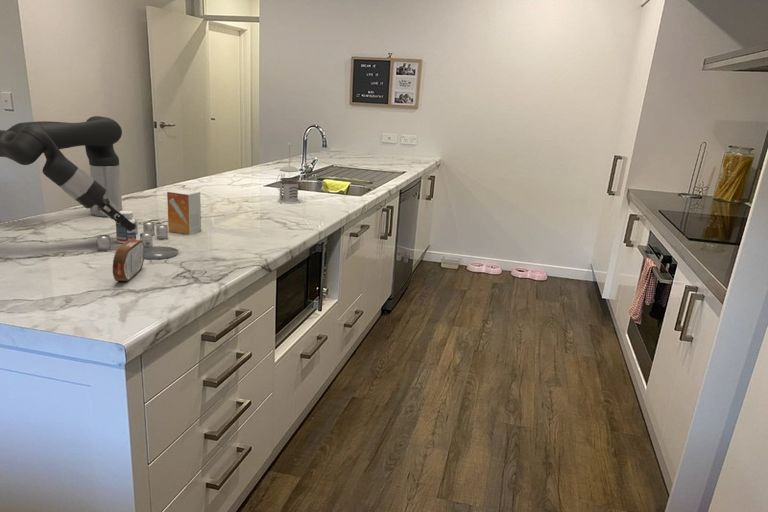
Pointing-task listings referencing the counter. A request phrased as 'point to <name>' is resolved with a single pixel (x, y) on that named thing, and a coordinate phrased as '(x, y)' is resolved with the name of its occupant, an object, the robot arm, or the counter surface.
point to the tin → (128, 260)
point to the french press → (288, 185)
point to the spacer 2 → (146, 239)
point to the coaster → (159, 252)
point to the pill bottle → (121, 231)
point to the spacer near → (103, 242)
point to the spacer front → (162, 232)
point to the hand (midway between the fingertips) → (130, 225)
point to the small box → (184, 211)
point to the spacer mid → (149, 227)
